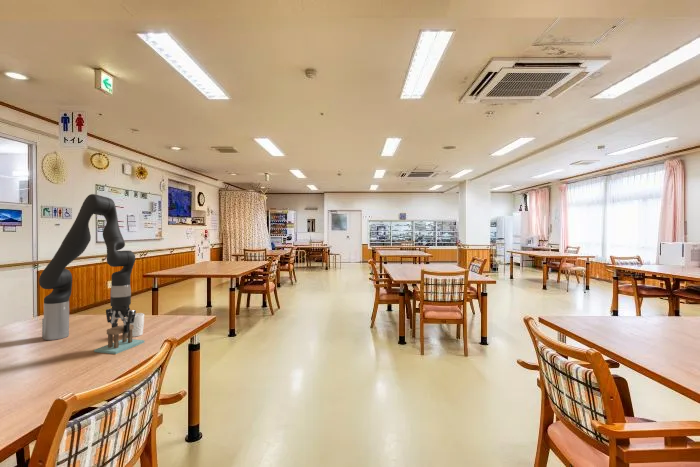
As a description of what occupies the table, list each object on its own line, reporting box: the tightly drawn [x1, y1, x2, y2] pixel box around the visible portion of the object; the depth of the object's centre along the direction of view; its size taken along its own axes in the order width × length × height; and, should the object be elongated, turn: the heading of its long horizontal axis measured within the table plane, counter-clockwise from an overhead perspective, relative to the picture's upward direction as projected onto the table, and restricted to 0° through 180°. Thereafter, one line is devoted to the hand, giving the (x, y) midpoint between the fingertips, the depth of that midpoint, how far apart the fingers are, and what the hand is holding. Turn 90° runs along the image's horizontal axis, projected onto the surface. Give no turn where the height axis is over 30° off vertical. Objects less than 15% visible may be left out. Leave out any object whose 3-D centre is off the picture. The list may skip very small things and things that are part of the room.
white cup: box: [126, 312, 145, 338], centre depth 165 cm, size 8×8×10 cm
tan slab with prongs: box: [106, 323, 134, 348], centre depth 148 cm, size 9×5×8 cm, turn 169°
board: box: [93, 338, 145, 355], centre depth 148 cm, size 11×15×1 cm
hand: (120, 332), depth 148 cm, fingers open, 5 cm apart
